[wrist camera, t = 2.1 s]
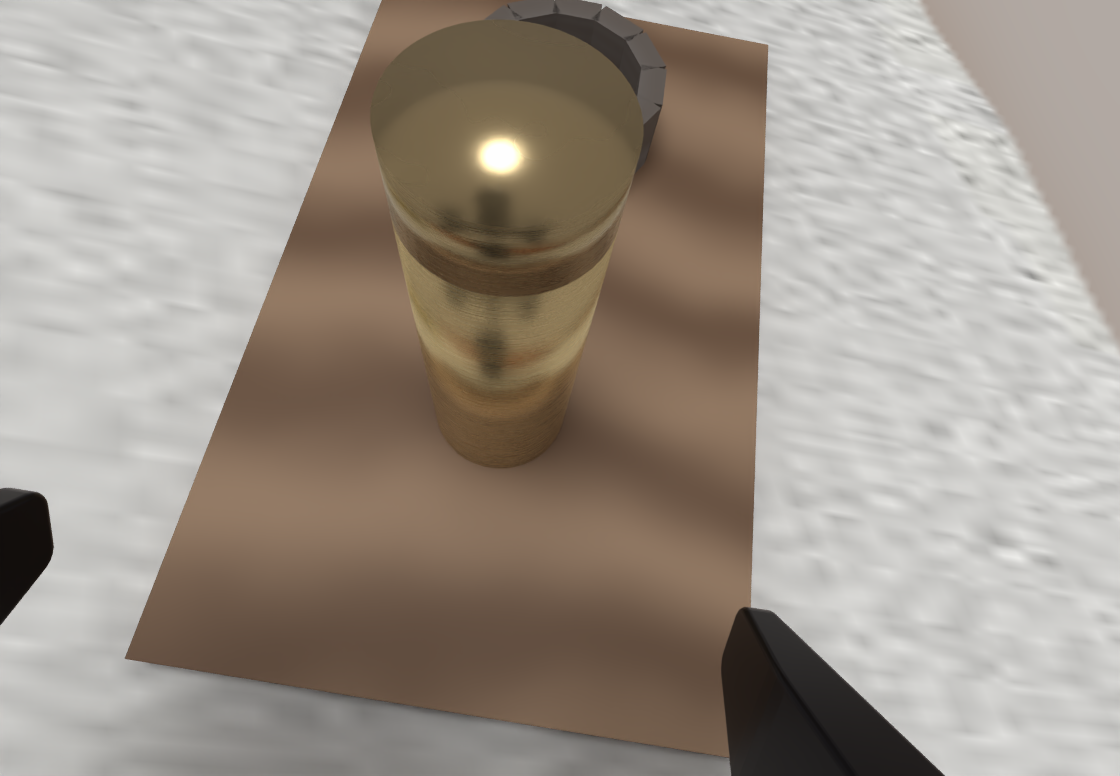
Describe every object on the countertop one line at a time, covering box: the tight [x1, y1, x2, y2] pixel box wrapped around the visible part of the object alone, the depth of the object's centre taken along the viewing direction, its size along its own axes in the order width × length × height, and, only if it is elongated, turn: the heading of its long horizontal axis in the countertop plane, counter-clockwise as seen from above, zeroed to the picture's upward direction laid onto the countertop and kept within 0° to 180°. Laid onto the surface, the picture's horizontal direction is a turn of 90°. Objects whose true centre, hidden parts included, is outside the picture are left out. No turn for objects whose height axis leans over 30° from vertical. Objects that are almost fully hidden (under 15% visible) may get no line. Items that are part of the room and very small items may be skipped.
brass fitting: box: [370, 19, 644, 469], centre depth 16 cm, size 4×4×13 cm
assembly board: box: [125, 0, 768, 758], centre depth 24 cm, size 30×18×4 cm, turn 171°
